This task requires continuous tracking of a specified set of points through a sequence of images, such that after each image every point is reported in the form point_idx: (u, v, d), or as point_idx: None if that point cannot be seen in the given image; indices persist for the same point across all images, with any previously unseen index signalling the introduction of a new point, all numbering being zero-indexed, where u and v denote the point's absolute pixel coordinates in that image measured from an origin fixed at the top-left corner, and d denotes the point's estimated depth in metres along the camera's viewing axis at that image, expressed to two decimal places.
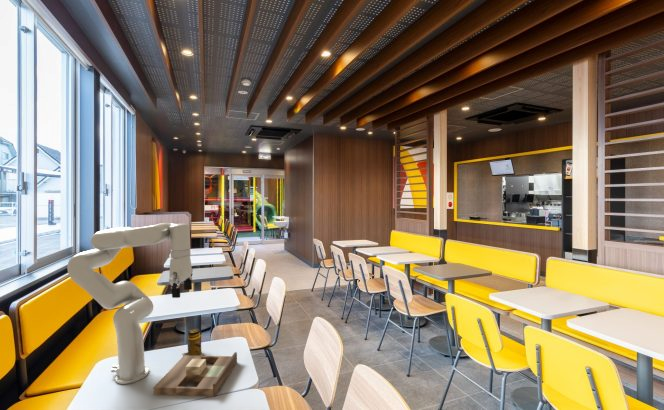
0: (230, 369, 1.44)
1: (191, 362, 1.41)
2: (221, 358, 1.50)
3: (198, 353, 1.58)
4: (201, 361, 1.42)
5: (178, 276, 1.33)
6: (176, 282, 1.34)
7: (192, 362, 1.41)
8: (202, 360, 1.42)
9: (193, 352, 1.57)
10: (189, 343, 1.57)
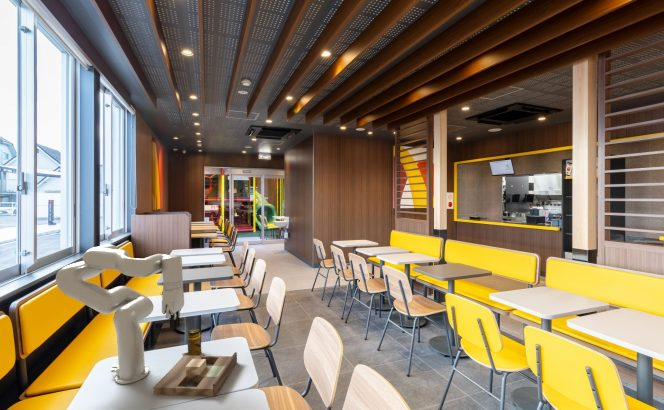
0: (230, 369, 1.44)
1: (191, 362, 1.41)
2: (221, 358, 1.50)
3: (198, 353, 1.58)
4: (201, 361, 1.42)
5: None
6: None
7: (192, 362, 1.41)
8: (202, 360, 1.42)
9: (193, 352, 1.57)
10: (189, 343, 1.57)
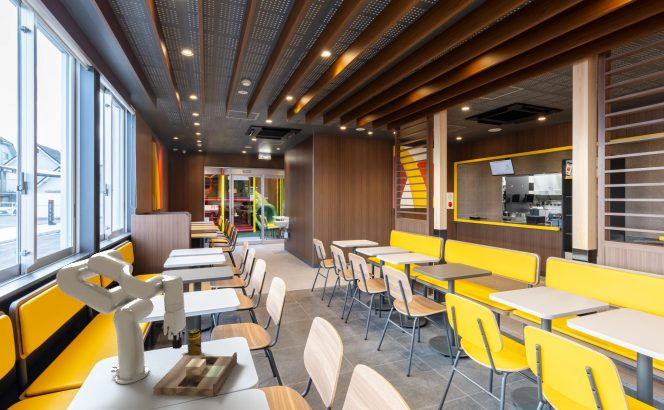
0: (230, 369, 1.44)
1: (191, 362, 1.41)
2: (221, 358, 1.50)
3: (198, 353, 1.58)
4: (201, 361, 1.42)
5: None
6: None
7: (192, 362, 1.41)
8: (202, 360, 1.42)
9: (193, 352, 1.57)
10: (189, 343, 1.57)
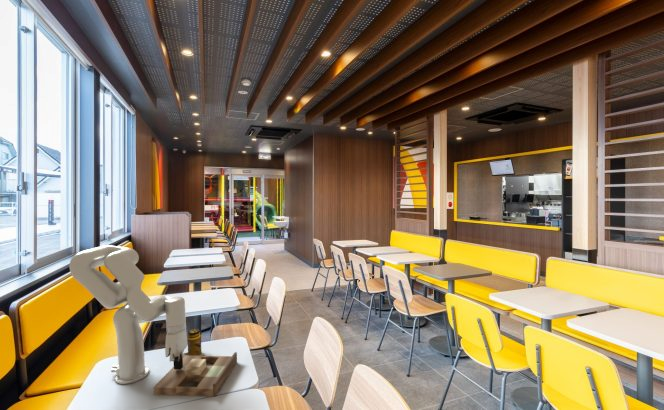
0: (230, 369, 1.44)
1: (191, 362, 1.41)
2: (221, 358, 1.50)
3: (198, 353, 1.58)
4: (201, 361, 1.42)
5: None
6: None
7: (192, 362, 1.41)
8: (202, 360, 1.42)
9: (193, 352, 1.57)
10: (189, 343, 1.57)
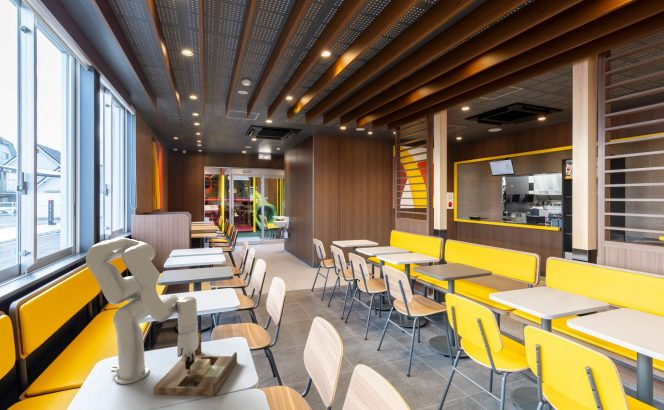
0: (230, 369, 1.44)
1: (195, 363, 1.40)
2: (221, 358, 1.50)
3: (198, 353, 1.58)
4: (205, 361, 1.42)
5: None
6: None
7: (196, 362, 1.41)
8: (206, 360, 1.42)
9: None
10: None
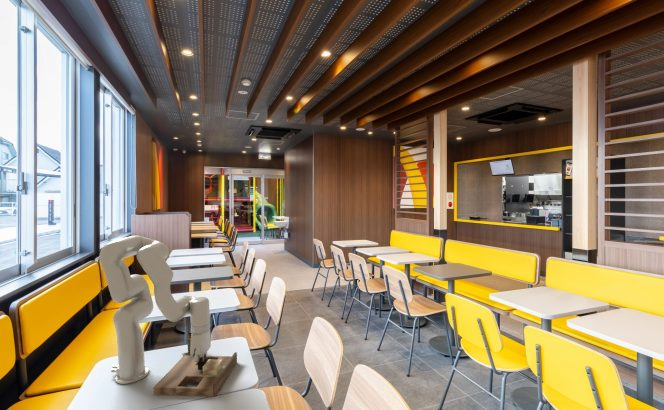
0: (230, 369, 1.44)
1: (207, 363, 1.40)
2: (221, 358, 1.50)
3: None
4: (218, 361, 1.41)
5: (200, 356, 1.36)
6: (200, 355, 1.39)
7: (209, 362, 1.41)
8: (218, 360, 1.42)
9: None
10: (189, 343, 1.57)
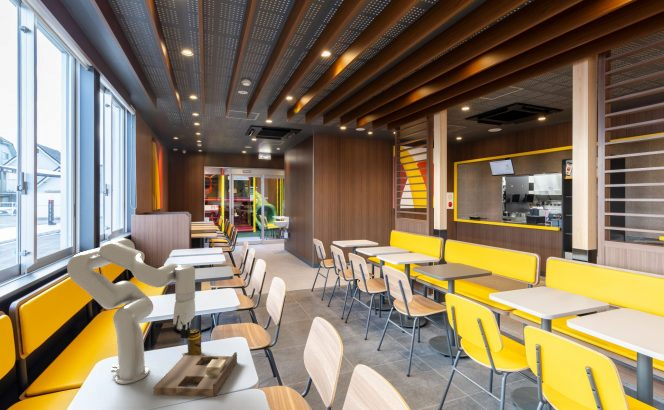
0: (230, 369, 1.44)
1: (211, 363, 1.40)
2: (221, 358, 1.50)
3: (198, 353, 1.58)
4: (221, 362, 1.41)
5: None
6: None
7: (212, 362, 1.41)
8: (222, 361, 1.42)
9: (193, 352, 1.57)
10: (189, 343, 1.57)
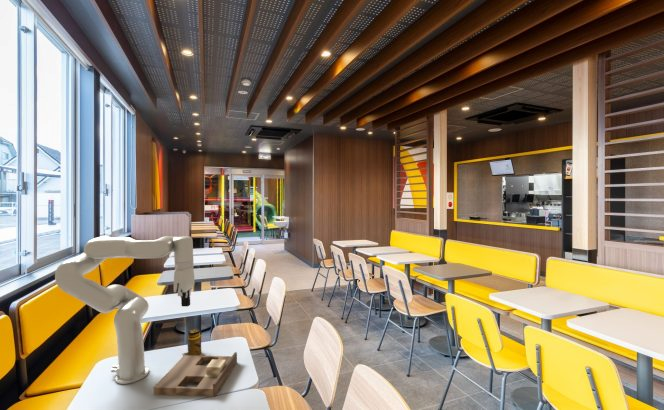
0: (230, 369, 1.44)
1: (211, 363, 1.40)
2: (221, 358, 1.50)
3: (198, 353, 1.58)
4: (221, 362, 1.41)
5: None
6: None
7: (212, 362, 1.41)
8: (222, 361, 1.42)
9: (193, 352, 1.57)
10: (189, 343, 1.57)
